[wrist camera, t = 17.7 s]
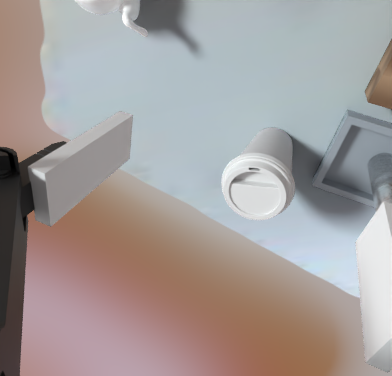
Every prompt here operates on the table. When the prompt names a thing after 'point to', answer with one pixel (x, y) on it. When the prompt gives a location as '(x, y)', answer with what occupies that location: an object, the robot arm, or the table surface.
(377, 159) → the hitch pin
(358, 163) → the tray
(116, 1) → the teapot
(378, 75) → the socket block
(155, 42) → the table surface
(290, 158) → the coffee cup
